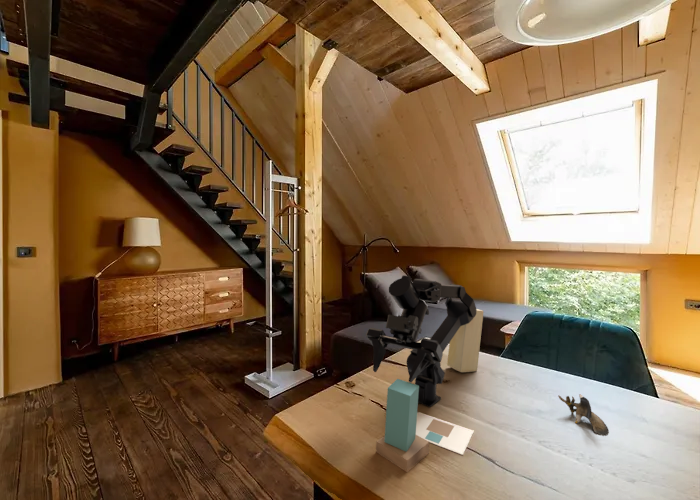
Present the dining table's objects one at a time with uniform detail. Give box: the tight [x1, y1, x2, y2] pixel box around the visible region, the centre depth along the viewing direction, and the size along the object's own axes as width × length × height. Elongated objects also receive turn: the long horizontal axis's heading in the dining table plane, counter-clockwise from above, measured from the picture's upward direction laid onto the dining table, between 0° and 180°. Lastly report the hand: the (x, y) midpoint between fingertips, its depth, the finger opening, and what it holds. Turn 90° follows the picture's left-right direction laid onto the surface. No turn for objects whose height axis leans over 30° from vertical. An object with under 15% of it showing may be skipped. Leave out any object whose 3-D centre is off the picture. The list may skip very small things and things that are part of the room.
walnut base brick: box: [375, 435, 430, 473], centre depth 68 cm, size 8×8×3 cm
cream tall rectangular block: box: [446, 308, 484, 373], centre depth 111 cm, size 8×7×21 cm
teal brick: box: [384, 378, 419, 452], centre depth 68 cm, size 5×5×12 cm
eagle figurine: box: [557, 394, 609, 437], centre depth 80 cm, size 8×8×10 cm
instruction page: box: [416, 411, 475, 456], centre depth 76 cm, size 10×14×1 cm
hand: (391, 376), depth 75 cm, fingers open, 9 cm apart
